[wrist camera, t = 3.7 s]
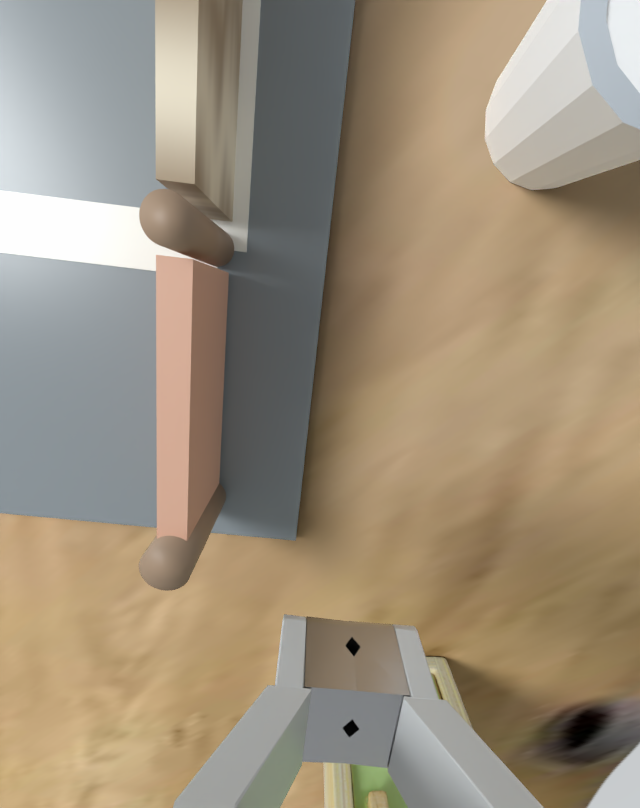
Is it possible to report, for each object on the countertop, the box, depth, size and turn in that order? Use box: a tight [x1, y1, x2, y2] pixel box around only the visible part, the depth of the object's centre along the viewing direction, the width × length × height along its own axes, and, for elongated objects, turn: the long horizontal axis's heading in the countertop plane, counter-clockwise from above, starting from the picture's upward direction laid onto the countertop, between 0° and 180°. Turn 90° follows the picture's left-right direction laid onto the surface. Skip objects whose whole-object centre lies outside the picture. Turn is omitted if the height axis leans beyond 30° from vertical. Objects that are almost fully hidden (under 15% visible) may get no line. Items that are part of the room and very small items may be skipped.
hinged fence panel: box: [139, 189, 234, 590], centre depth 15 cm, size 14×2×6 cm, turn 174°
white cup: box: [485, 0, 640, 190], centre depth 13 cm, size 7×7×7 cm
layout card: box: [0, 0, 355, 541], centre depth 17 cm, size 30×24×1 cm
